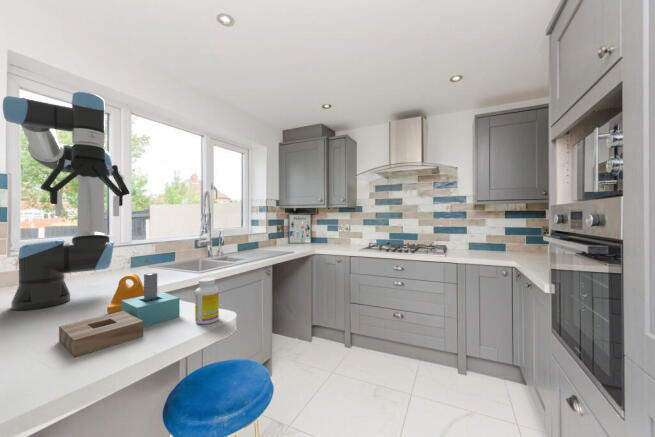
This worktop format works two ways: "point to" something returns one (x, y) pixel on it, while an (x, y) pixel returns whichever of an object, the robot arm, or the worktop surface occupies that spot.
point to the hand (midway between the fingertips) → (89, 216)
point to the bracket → (126, 292)
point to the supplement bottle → (206, 302)
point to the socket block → (99, 332)
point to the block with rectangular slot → (153, 308)
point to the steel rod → (150, 287)
